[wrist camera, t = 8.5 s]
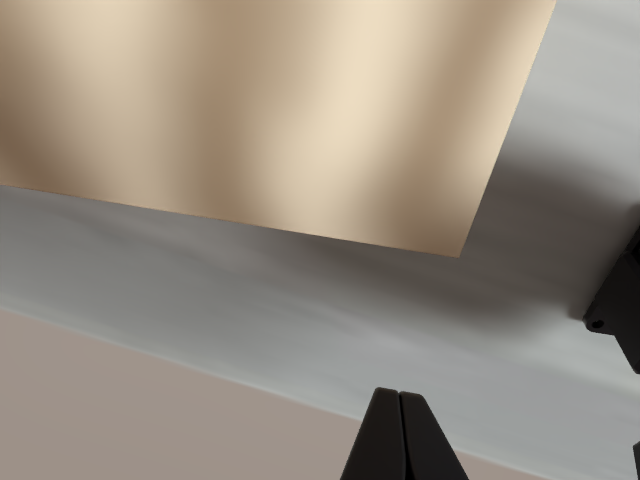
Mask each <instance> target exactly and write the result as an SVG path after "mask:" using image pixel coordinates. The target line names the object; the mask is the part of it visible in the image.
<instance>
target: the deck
mask: <svg viewBox="0 0 640 480" xmlns="http://www.w3.org/2000/svg"><path fill="white" fill-rule="evenodd" d="M556 2H557V0H0V185H7V186H13V187H19V188H25V189H32V190H38V191H44V192H50V193H56V194H63V195H69V196H75V197H81V198H88V199H94V200H100V201H106V202H112V203H119V204H125V205H131V206H137V207H144V208H150V209H156V210H162V211H168V212H175V213H181V214H187V215H193V216H200V217H206V218H212V219H218V220H224V221H231V222H237V223H243V224H249V225H256V226H262V227H268V228H274V229H280V230H287V231H293V232H299V233H305V234H312V235H318V236H324V237H330V238H336V239H343V240H349V241H355V242H361V243H368V244H374V245H380V246H386V247H392V248H399V249H405V250H411V251H417V252H424V253H430V254H436V255H442V256H448V257H455V258H459V257H460V254H461V251H462V249H463V246H464V243H465V241H466V238H467V236H468V233H469V230H470V228H471V225H472V222H473V220H474V217H475V215H476V212H477V209H478V207H479V204H480V201H481V199H482V196H483V194H484V191H485V188H486V186H487V183H488V180H489V178H490V175H491V173H492V170H493V167H494V165H495V162H496V159H497V157H498V154H499V152H500V149H501V146H502V144H503V141H504V138H505V136H506V133H507V130H508V128H509V125H510V123H511V120H512V117H513V115H514V112H515V109H516V107H517V104H518V102H519V99H520V96H521V94H522V91H523V88H524V86H525V83H526V81H527V78H528V75H529V73H530V70H531V67H532V65H533V62H534V60H535V57H536V54H537V52H538V49H539V46H540V44H541V41H542V39H543V36H544V33H545V31H546V28H547V25H548V23H549V20H550V17H551V15H552V12H553V10H554V7H555V4H556Z"/></svg>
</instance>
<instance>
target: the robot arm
mask: <svg viewBox="0 0 640 480" xmlns="http://www.w3.org/2000/svg"><path fill="white" fill-rule="evenodd" d="M597 320H599V321H597ZM594 321H597V322H594ZM583 322H584V324H585V326H586V328H587V329H588V330H589V331H591V332H595V333H602V334H608V335H614V336H615V338H616V340H617V342H618V343H619V345H620V347H621V349H622V351H623V353H624V354H625V356H626V358H627V360H628V362H629V364H630V365H631V367H632V369H633V371H634V372H635V373H636V374H640V227H639V229H638V230H637V232H636V233H635V235H634V237H633V238H632V240H631V241H630V243H629V245H628V246H627V248H626V249H625V251H624V253H623V254H622V255H621V256H620V257H619V259H618V261H617V262H616V264H615V266H614V267H613V269H612V270H611V272H610V274H609V275H608V277H607V278H606V280H605V282H604V283H603V285H602V286H601V288H600V290H599V291H598V293H597V295H596V296H595V299H594V301H593V302H592V304H591V306H590V307H589V309H588V310H587V312H586V314H585V315H584V317H583ZM633 451H634V457H635V463H636V469H637V475H638V480H640V442H638V443H636V444H635V445H633ZM340 480H469V479H468V477H467V475H466V473H465V472H464V469H463V468H462V466H461V464H460V462H459V460H458V459H457V457H456V455H455V453H454V451H453V449H452V448H451V446H450V444H449V442H448V440H447V439H446V437H445V435H444V433H443V431H442V429H441V428H440V426H439V424H438V422H437V420H436V418H435V417H434V415H433V413H432V411H431V409H430V408H429V406H428V404H427V402H426V400H425V399H424V397H423V396H422V395H420V394H416V393H410V392H404V391H401V392H399V393H398V392H397V391H396V390H393V389H387V388H381V387H378V388H376V389H375V391H374V393H373V396H372V398H371V401H370V404H369V406H368V409H367V411H366V414H365V416H364V419H363V422H362V424H361V427H360V429H359V433H358V435H357V437H356V440H355V442H354V445H353V447H352V450H351V452H350V455H349V458H348V460H347V463H346V465H345V468H344V470H343V473H342V476H341V478H340Z"/></svg>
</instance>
